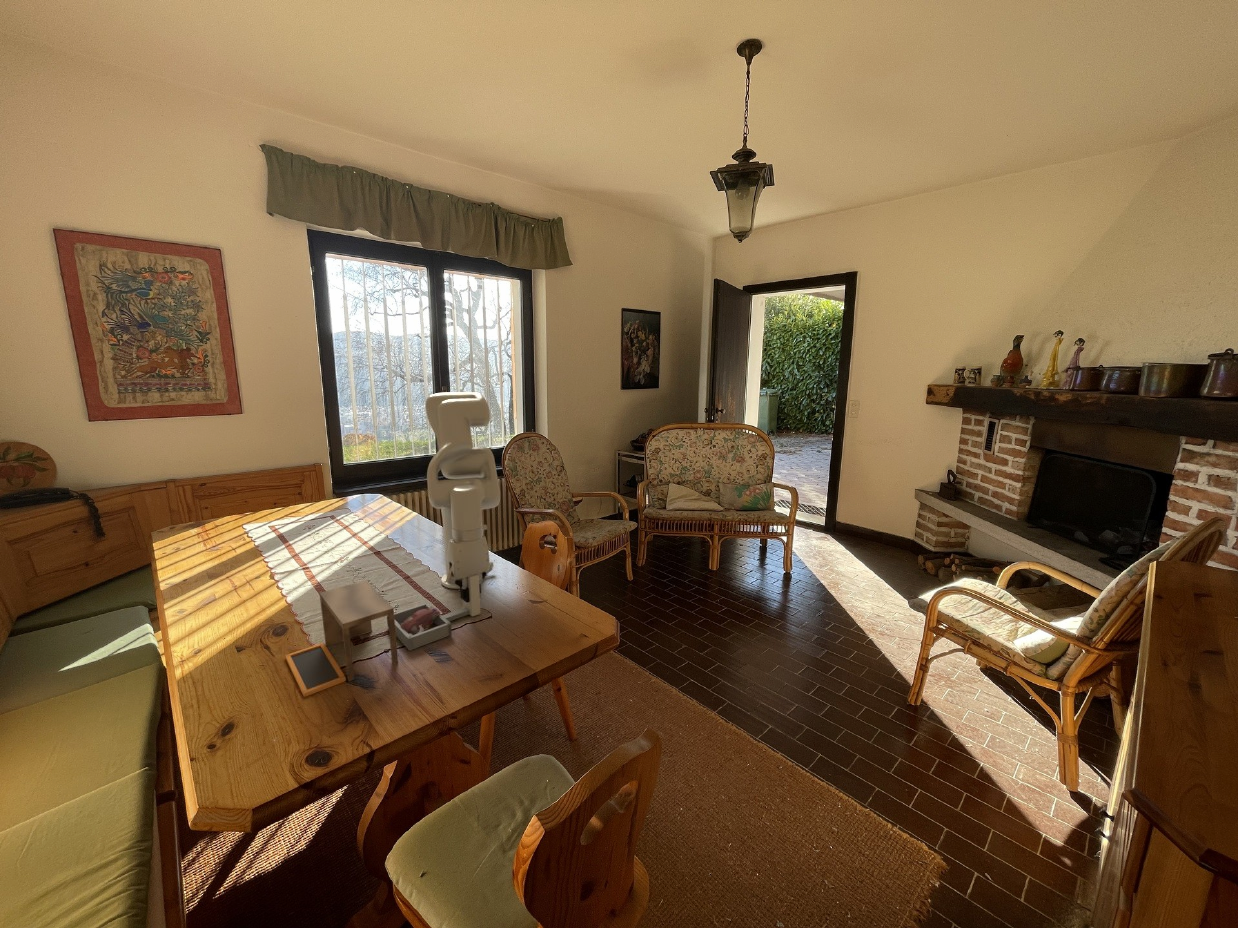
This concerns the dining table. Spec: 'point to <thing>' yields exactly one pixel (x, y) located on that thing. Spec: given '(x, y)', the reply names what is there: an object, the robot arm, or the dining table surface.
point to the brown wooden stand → (354, 617)
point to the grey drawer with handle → (438, 618)
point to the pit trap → (314, 669)
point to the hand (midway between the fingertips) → (471, 598)
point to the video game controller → (420, 620)
